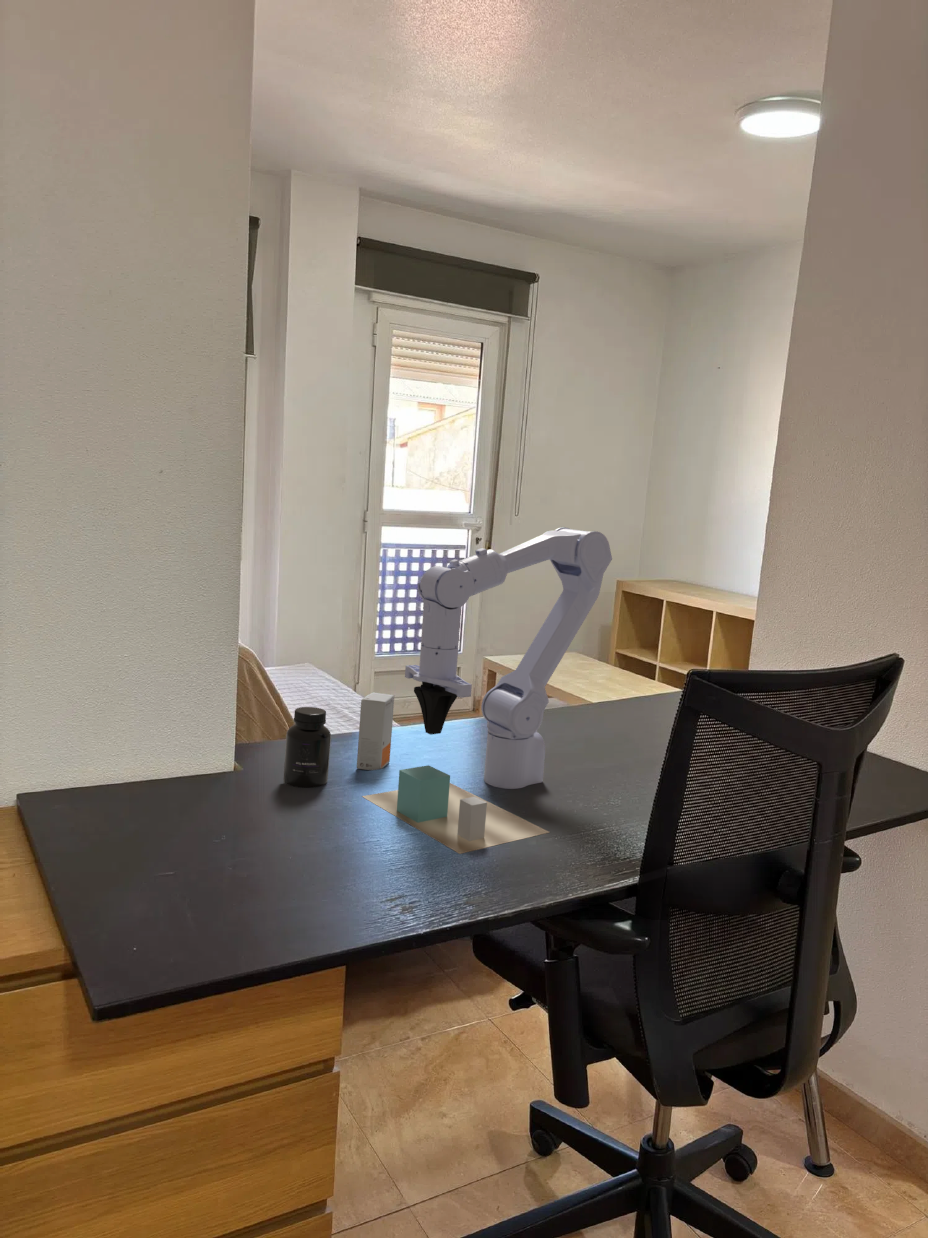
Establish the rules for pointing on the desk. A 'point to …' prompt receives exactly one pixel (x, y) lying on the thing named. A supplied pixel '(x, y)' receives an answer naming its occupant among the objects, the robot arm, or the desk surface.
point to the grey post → (472, 818)
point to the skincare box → (375, 731)
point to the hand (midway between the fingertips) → (433, 733)
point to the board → (444, 830)
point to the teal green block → (423, 793)
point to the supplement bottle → (307, 749)
